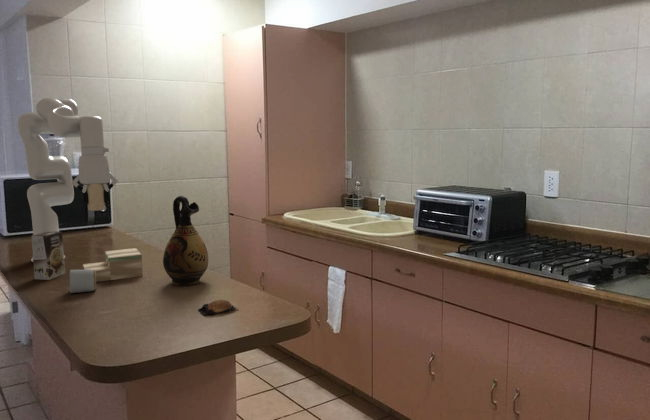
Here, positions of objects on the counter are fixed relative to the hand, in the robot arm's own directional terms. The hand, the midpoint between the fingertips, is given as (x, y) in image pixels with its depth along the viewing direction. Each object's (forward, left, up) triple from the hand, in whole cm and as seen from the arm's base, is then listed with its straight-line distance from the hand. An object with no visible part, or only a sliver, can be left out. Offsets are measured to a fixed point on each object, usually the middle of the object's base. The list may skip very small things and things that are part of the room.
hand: (96, 202), depth 202 cm
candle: (0, 0, -3) cm, 3 cm away
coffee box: (-11, -16, -28) cm, 34 cm away
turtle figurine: (+57, +27, -28) cm, 69 cm away
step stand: (-1, +4, -27) cm, 28 cm away
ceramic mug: (+14, -7, -28) cm, 32 cm away
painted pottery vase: (+21, +26, -28) cm, 43 cm away
